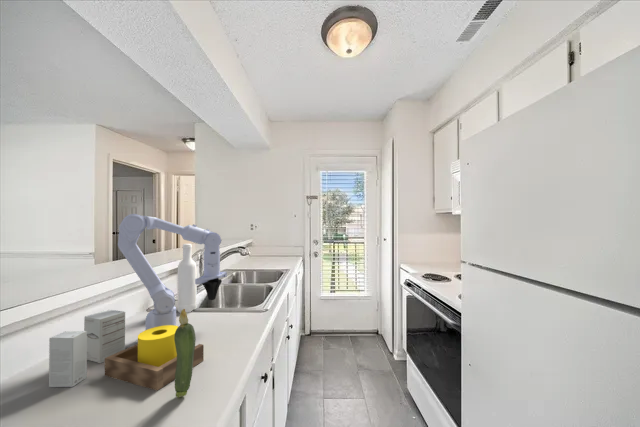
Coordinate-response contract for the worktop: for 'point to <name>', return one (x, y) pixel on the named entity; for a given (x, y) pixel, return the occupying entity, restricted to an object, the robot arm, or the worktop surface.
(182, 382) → the vegetable
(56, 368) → the skincare box
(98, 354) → the supplement box
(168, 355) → the tape roll
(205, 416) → the worktop surface
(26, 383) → the worktop surface
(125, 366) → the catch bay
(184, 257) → the bottle
